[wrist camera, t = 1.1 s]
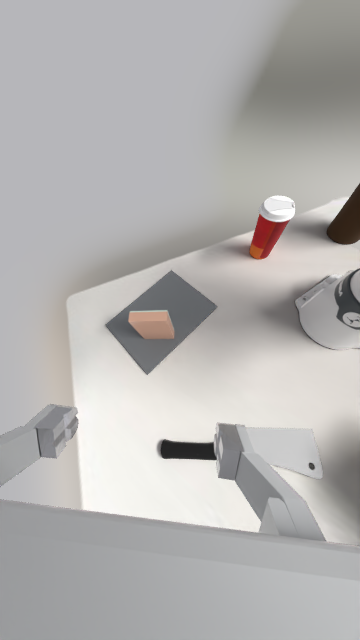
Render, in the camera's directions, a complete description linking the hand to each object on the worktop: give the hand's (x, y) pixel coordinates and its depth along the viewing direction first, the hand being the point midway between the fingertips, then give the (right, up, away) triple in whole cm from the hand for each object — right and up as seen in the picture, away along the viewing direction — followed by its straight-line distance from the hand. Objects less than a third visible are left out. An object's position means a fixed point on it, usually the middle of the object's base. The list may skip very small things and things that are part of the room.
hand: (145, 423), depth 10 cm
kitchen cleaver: (+14, -19, +26) cm, 36 cm away
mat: (-3, +7, +39) cm, 40 cm away
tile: (-4, +2, +36) cm, 36 cm away
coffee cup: (+27, +28, +45) cm, 60 cm away
